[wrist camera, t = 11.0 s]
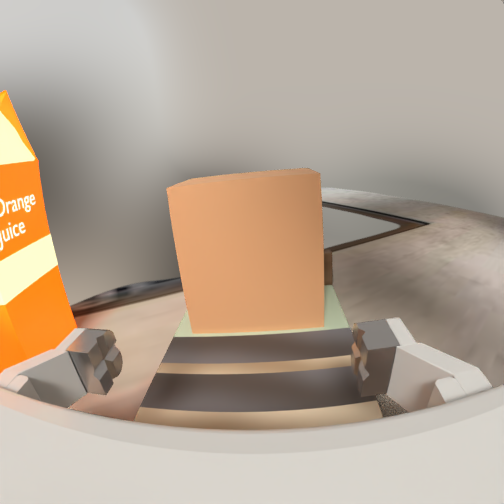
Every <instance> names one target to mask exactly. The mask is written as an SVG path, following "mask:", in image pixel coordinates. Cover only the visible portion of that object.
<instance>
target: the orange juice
mask: <svg viewBox="0 0 504 504" xmlns="http://www.w3.org/2000/svg"><path fill="white" fill-rule="evenodd" d="M75 328H77V326H76V323H75V320H74V317H73V314H72V311H71V308H70V305H69V302H68V299H67V296H66V293H65V290H64V287H63V283H62V279H61V277H60V272H59V269H58V263H57V259H56V255H55V251H54V247H53V242H52V238H51V234H50V232H49V227H48V222H47V217H46V212H45V207H44V201H43V195H42V189H41V182H40V174H39V166H38V160H37V158H36V156H35V154H34V152H33V150H32V148H31V146H30V144H29V142H28V140H27V138H26V136H25V133H24V131H23V129H22V127H21V125H20V123H19V120H18V118H17V116H16V114H15V111H14V109H13V107H12V104H11V102H10V99H9V97H8V94H7V92H6V91H3V92H1V93H0V374H1V373H2V372H3V371H4V370H5V369H7V368H9V367H11V366H14V365H16V364H18V363H21V362H23V361H25V360H28V359H30V358H32V357H34V356H37V355H39V354H41V353H44V352H46V351H48V350H51V349H55V348H56V347H57V346H58V345H59V344H60V343H61V342H62V341H63V340H64V339H65V338H66V337H67V336H68V335H69V334H70V333H71V332H72V331H73V330H74V329H75Z"/></svg>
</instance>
